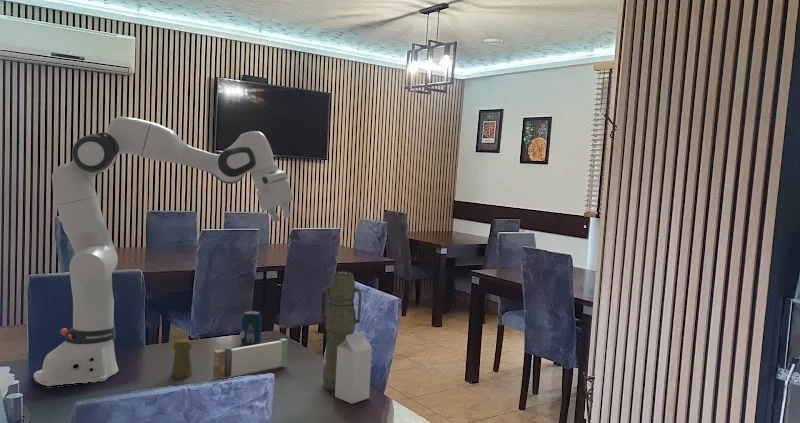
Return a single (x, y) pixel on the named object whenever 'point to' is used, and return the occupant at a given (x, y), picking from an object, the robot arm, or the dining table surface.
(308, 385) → the dining table surface
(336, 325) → the thermos
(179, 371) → the cork
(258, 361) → the gate
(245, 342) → the soda can
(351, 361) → the milk carton
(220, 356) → the gate post
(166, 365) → the dining table surface
